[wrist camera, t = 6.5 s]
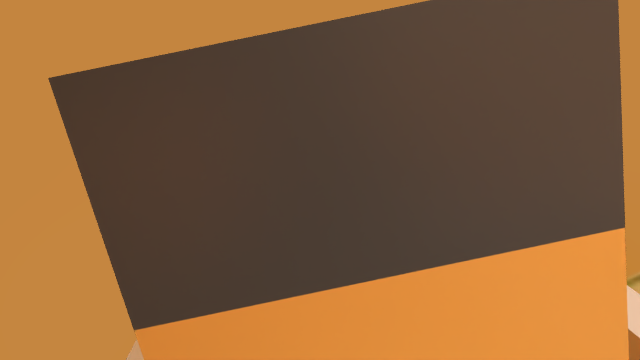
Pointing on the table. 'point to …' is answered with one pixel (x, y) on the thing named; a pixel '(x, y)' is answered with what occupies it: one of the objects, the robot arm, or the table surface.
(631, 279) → the table surface
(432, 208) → the orange lever
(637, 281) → the table surface
